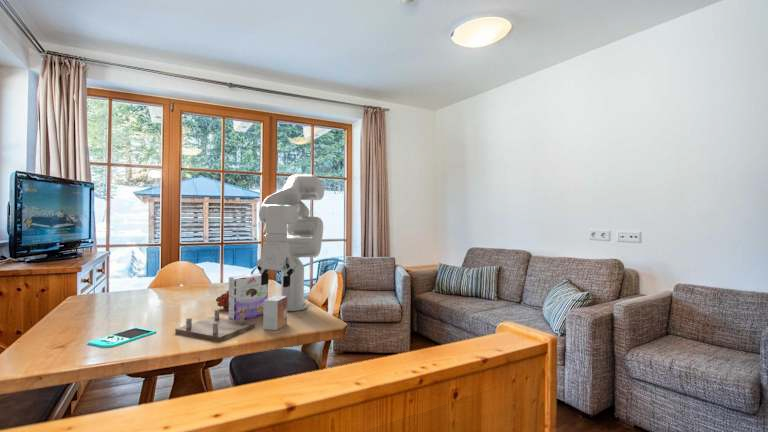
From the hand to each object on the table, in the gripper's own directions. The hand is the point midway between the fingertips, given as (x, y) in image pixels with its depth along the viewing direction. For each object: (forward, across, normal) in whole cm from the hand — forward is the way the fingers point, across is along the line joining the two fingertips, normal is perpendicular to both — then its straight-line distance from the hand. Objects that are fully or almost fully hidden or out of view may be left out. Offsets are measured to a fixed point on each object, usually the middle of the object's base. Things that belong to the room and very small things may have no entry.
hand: (275, 285), depth 134 cm
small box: (+15, 0, +1) cm, 15 cm away
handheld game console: (+16, -37, -29) cm, 50 cm away
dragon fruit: (+15, -33, +12) cm, 38 cm away
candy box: (+15, -18, +7) cm, 25 cm away
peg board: (+15, -16, -11) cm, 25 cm away
